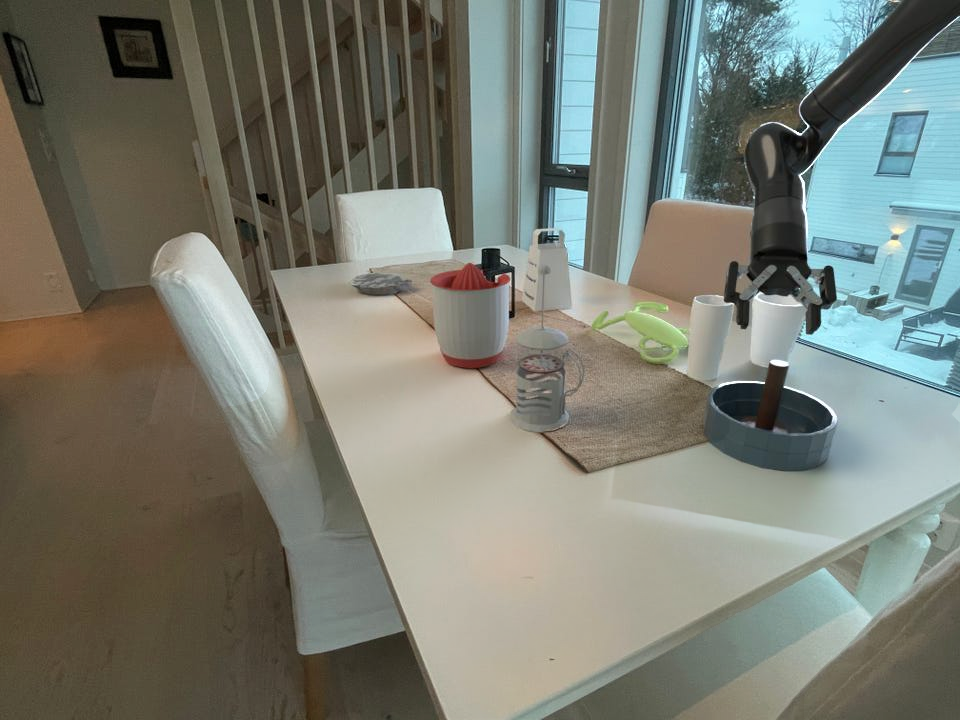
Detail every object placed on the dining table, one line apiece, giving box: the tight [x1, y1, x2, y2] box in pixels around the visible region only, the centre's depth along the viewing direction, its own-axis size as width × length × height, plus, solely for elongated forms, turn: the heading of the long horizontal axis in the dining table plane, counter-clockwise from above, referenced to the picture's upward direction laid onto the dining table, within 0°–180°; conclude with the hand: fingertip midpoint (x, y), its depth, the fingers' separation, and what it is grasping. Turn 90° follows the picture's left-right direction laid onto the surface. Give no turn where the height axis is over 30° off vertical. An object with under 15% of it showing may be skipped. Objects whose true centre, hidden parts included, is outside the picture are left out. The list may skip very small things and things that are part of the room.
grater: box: [521, 227, 573, 313], centre depth 136 cm, size 10×10×20 cm
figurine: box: [590, 301, 689, 365], centre depth 113 cm, size 18×27×6 cm
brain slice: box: [349, 271, 412, 296], centre depth 156 cm, size 20×17×3 cm
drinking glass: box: [685, 294, 735, 382], centre depth 93 cm, size 7×7×15 cm
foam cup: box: [749, 292, 807, 369], centre depth 99 cm, size 10×9×13 cm
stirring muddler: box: [742, 360, 790, 433], centre depth 73 cm, size 6×6×12 cm
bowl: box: [702, 380, 838, 472], centre depth 74 cm, size 16×16×6 cm
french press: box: [509, 265, 586, 434], centre depth 78 cm, size 10×12×25 cm
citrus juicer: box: [429, 262, 511, 370], centre depth 103 cm, size 16×17×20 cm
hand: (777, 329), depth 73 cm, fingers open, 8 cm apart
